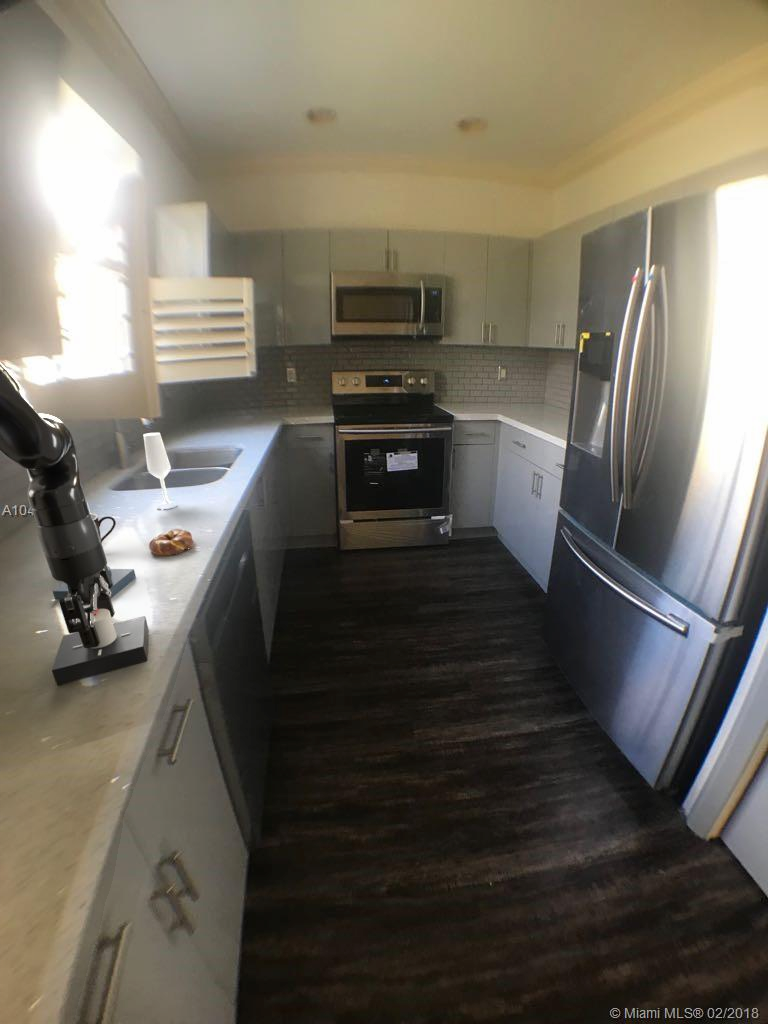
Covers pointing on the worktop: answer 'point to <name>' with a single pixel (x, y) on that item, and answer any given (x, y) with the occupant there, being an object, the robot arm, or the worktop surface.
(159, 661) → the worktop surface
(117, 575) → the button box
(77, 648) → the control panel
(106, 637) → the dial
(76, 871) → the worktop surface
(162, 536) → the pretzel
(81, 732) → the worktop surface
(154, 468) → the champagne flute
